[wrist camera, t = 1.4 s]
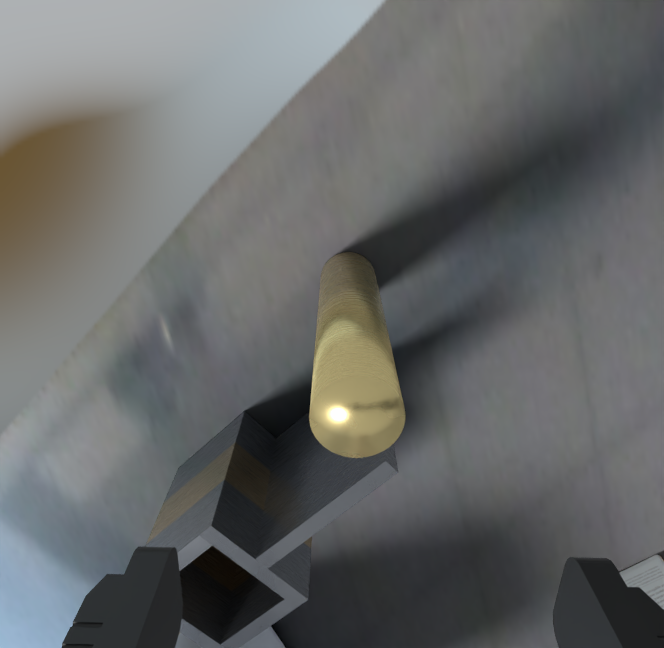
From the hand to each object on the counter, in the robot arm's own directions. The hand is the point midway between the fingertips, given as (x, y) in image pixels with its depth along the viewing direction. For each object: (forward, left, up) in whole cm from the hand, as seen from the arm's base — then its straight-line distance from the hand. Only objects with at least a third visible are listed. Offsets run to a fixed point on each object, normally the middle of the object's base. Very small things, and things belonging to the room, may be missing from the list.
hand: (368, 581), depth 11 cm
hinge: (+6, +13, -20) cm, 25 cm away
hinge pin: (0, 0, -20) cm, 20 cm away
